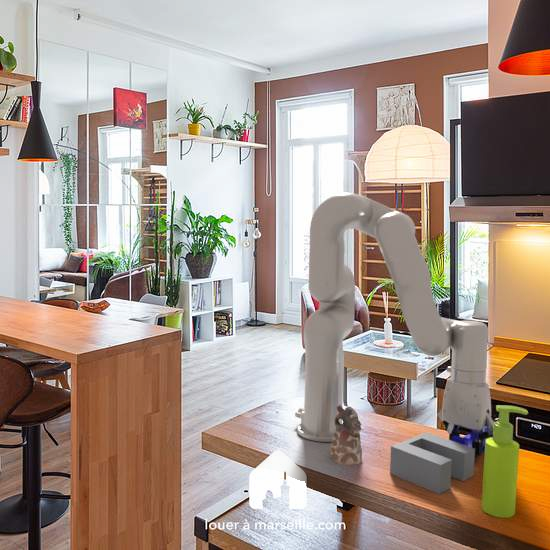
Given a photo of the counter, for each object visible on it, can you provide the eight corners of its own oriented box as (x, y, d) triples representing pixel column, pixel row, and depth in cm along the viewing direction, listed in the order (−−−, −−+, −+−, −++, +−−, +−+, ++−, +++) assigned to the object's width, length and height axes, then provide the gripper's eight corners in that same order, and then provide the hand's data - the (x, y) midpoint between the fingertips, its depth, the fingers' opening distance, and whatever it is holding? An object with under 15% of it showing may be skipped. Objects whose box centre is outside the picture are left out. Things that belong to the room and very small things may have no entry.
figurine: (352, 468, 126) (354, 414, 125) (324, 459, 131) (326, 407, 129) (367, 457, 132) (369, 406, 131) (340, 449, 136) (342, 399, 135)
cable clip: (467, 446, 140) (469, 422, 139) (485, 451, 137) (487, 426, 136) (444, 460, 131) (445, 435, 131) (463, 467, 128) (464, 440, 128)
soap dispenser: (522, 521, 106) (530, 414, 104) (482, 515, 108) (489, 409, 105) (518, 505, 111) (525, 404, 109) (480, 500, 113) (486, 400, 111)
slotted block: (389, 473, 124) (391, 446, 124) (424, 457, 133) (426, 432, 132) (439, 494, 115) (440, 465, 115) (473, 475, 124) (474, 448, 123)
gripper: (426, 370, 136) (424, 446, 138) (495, 387, 123) (492, 470, 125) (444, 365, 141) (441, 438, 143) (512, 380, 128) (508, 460, 130)
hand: (465, 452), depth 134 cm, fingers closed on cable clip, 4 cm apart
